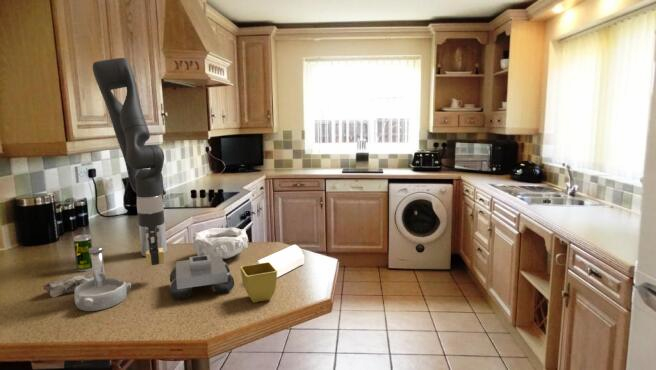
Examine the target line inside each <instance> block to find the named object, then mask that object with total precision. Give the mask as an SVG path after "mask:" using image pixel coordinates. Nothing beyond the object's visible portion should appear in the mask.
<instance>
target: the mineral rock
mask: <svg viewBox="0 0 656 370" xmlns="http://www.w3.org/2000/svg"><path fill="white" fill-rule="evenodd" d="M90 280H94V276H93V275H92V274H91V275H90V274H87V275H85V274H80V275H79V274H78V275H74V276H72V277H69V278H65V279H63V280H58V281H57V280H56V281H55V280H54V281H50V282H49V283H45V284H44V285H43V286H42V287H43V290H45V291H46V292H47V293H49V295H50V297H52V298H56V297H58V296H61V295H64V294H66V293H67V294H70V293H71V294H74V293H73V292H74V290H75V288H76V287H77V286H79V285H80V284H82V283H85V282H88V281H90ZM67 294H66V295H67Z"/></svg>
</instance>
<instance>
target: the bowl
mask: <svg viewBox="0 0 656 370" xmlns="http://www.w3.org/2000/svg"><path fill="white" fill-rule="evenodd" d="M192 235H193V236H192V249H193V253H195V252H196V254H197V255H196V256H203V255H209V256H210V257H216V256H221V257H222V259H223V260H226V259H231V258H232V257H235V256H236V255H238V254H239V253H241V252H243V251H244V249H247V248H249V247H248V246H249V245H250V243H249V238H248V234H247V232H246V229H243V228H242V229H240V228H238V227H231V226H230V227H225V228H222V227H211V228H208V229H204V230H201V231H199V232H194V233H193V234H192Z"/></svg>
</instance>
